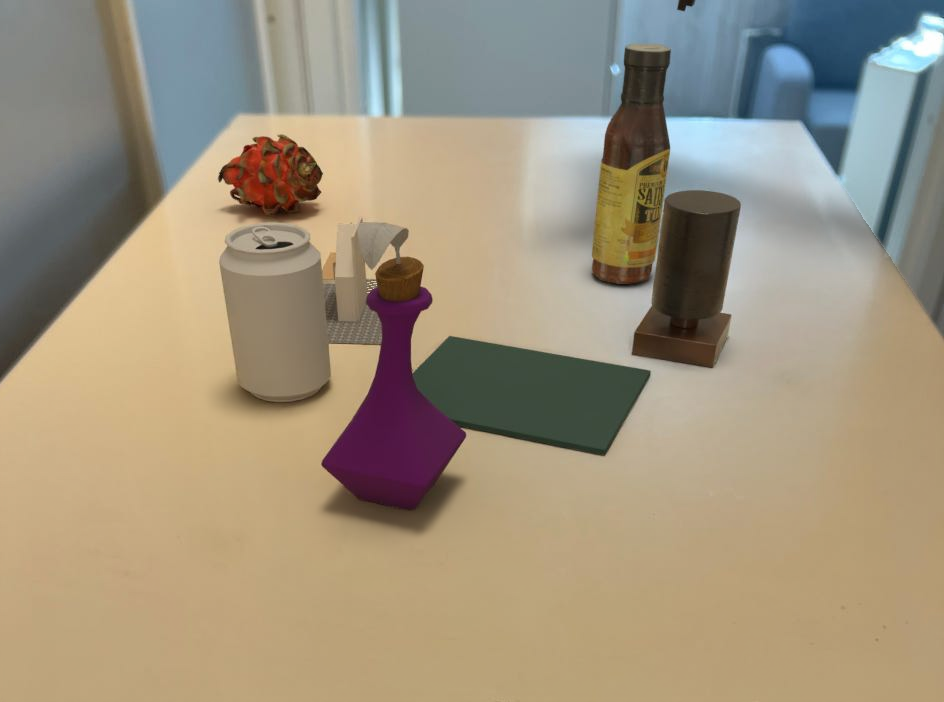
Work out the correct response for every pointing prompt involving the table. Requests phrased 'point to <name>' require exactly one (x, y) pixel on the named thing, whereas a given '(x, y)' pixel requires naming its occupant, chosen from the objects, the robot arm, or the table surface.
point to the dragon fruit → (273, 175)
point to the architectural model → (349, 292)
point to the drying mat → (530, 393)
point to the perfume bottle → (393, 392)
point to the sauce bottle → (633, 171)
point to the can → (276, 311)
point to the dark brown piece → (690, 279)
